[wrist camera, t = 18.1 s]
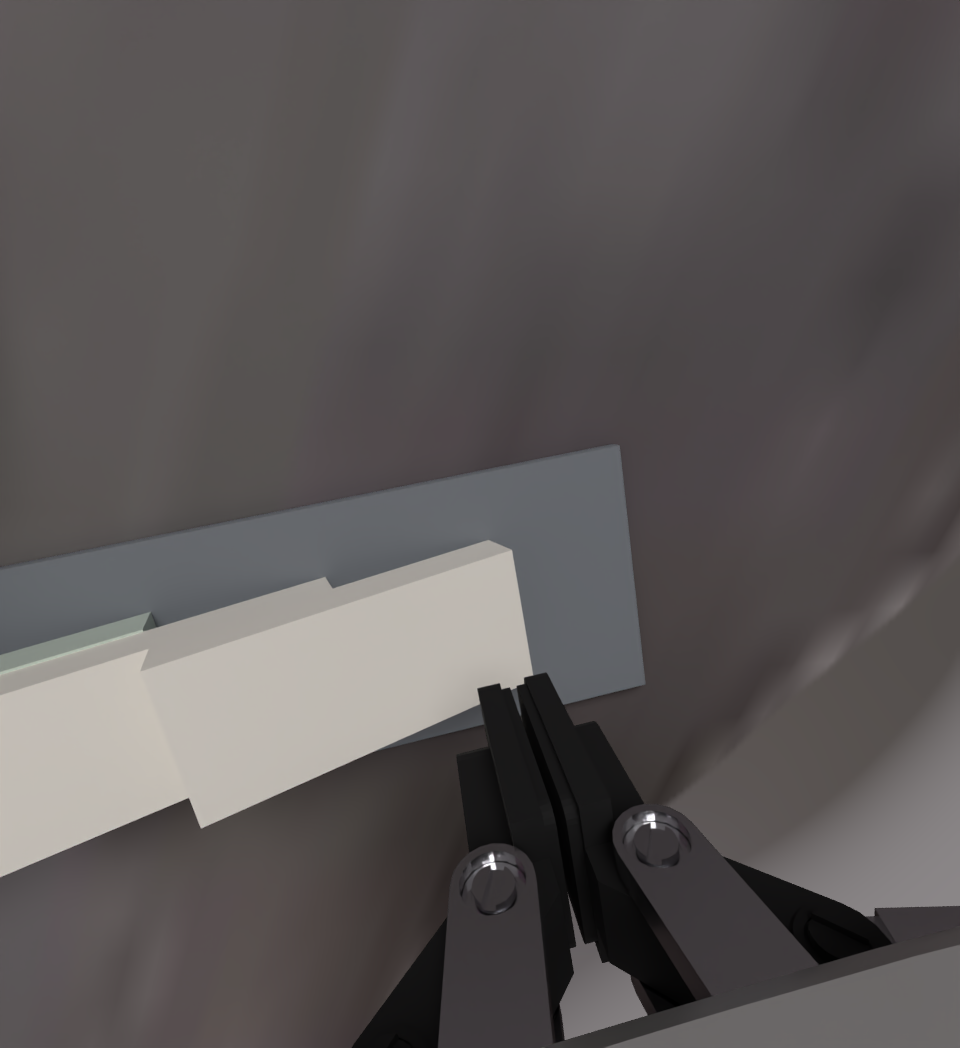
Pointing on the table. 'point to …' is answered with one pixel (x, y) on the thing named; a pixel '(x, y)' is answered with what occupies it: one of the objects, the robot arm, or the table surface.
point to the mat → (381, 566)
